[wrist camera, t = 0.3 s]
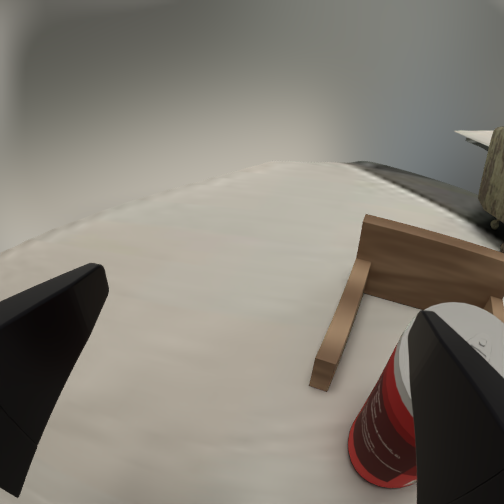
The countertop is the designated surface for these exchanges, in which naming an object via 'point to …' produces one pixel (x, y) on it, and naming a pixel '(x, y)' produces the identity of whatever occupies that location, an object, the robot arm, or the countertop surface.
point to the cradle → (410, 280)
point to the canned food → (399, 399)
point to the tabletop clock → (494, 180)
